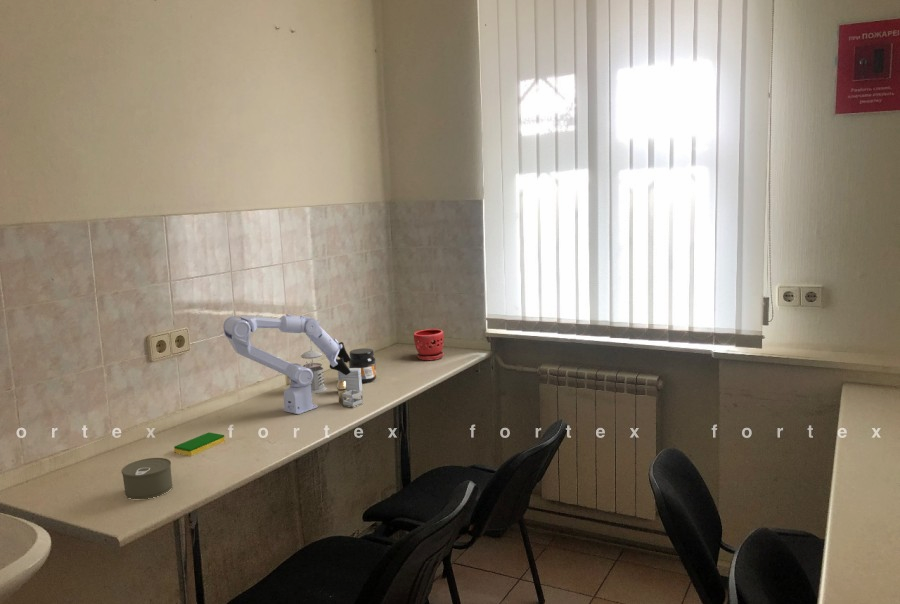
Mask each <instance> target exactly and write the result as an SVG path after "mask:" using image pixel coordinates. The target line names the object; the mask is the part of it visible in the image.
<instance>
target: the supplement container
mask: <svg viewBox="0 0 900 604" xmlns="http://www.w3.org/2000/svg"><path fill="white" fill-rule="evenodd" d="M348 355H349V357H350V359H351V360H350V361H349V362H348V368H361V380H362V384H368V383H371V382H374V381H376V379H377V367H376V357H375V356H374V355H375V351H374V349H372V348H369V347H368V348H365V347H364V348H362V347H361V348H354V349H351V350H350V351H349V353H348ZM367 382H368V383H367Z"/></svg>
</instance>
